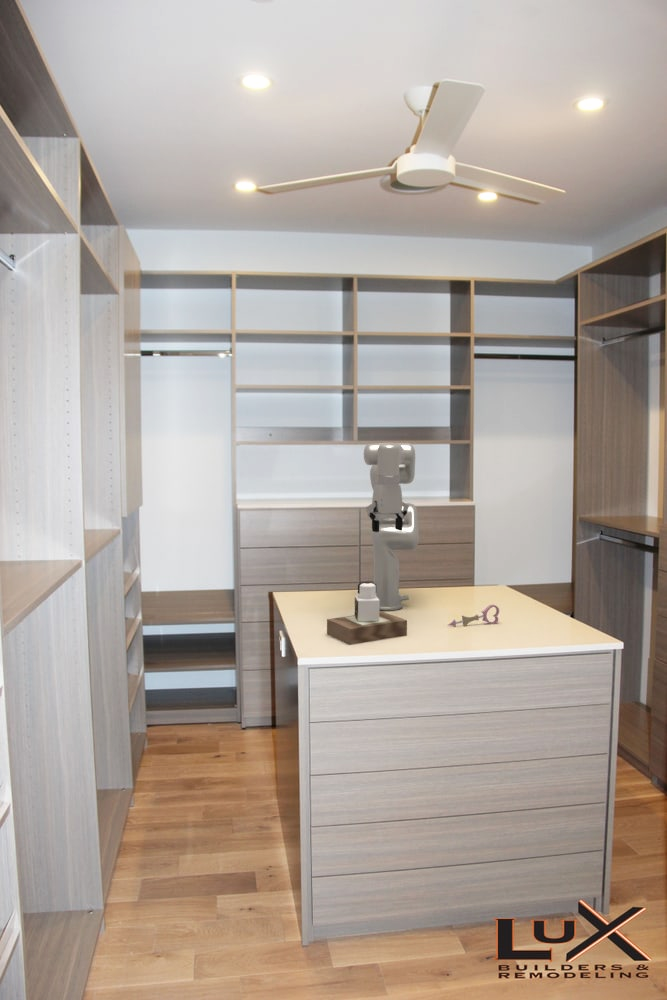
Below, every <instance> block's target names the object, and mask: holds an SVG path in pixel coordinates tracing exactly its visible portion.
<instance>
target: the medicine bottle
mask: <svg viewBox="0 0 667 1000" xmlns="http://www.w3.org/2000/svg"><path fill="white" fill-rule="evenodd" d="M379 612H380V610H379V599H378V598H377V596H376V584H375V583H374V581H373V582H372V581H361V582H359V583H358V585H357V595H355V596H354V615H355V618H356V620H357V621H358V622H375V621H379Z"/></svg>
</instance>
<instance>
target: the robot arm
mask: <svg viewBox="0 0 667 1000" xmlns="http://www.w3.org/2000/svg"><path fill="white" fill-rule="evenodd" d="M363 459H364V462H365V464H366V465H367V466H371V468H369V478H370V479H369V480H370V484H371V487H372V492H373V493H372V499H371V500H372V501H371V503H370V504H369V505H368V506H366V507H365V512H366V513H367V517H369V518H370V520H371V529H372V531H371V540H372V547H373V583H375V584H376V596H377V598H378V599H379V611H384V612H386V611H389V612H390V611H397V610H401V609H403V607H404V606H403V601H409V599H410V597H409V595H408V594H407V595H402V594H399V593H400V592H399V590H400V589H399V588H400V585H399V583H400V561H399V558H398V557H397V555H396V554H395V553H394V552H393V551H396V550H398V551H411V550H412V551H413V550H415V549H416V548H417V547H418V545H419V540H420V539H419V537H420V535H419V514H418V509H417V507H416V505H414V504H413V503H411V502H410V503H409V502H403V494H402V492H403V491H402V487H401V485H407V484H411V483H413V481H414V479H415V471H416V470H415V469H416V450H415V447H414V446H413V444H412V443H410V442H390V441H389V442H379V443H378V442H377V443H367V444H366V445H365V446H364V449H363Z"/></svg>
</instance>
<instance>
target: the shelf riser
mask: <svg viewBox="0 0 667 1000" xmlns="http://www.w3.org/2000/svg"><path fill="white" fill-rule="evenodd" d="M326 635H327V636H330V637H332V638H335V639H336V640H339V641H341V642H343V643H346V644H348V645H356V644H362V643H368V642H375V641H380V640H388V639H393V638H398V637H399V638H400V637H404V636H407V635H408V620H407V619H404V618H402V617H399V616H396V615H394V614H390V613H387V612H386V611H384V610H381V611H379V621H375V622H358V621H357V620H356V618H355V614H354V615H348V616H339V617H334V618H333V617H332V618H327V619H326Z"/></svg>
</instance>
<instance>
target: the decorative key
mask: <svg viewBox="0 0 667 1000" xmlns="http://www.w3.org/2000/svg"><path fill="white" fill-rule="evenodd" d="M491 608H495V610H496V611H495V614H493V615H492V617H494V618H495V619H494V620H493V621H489V619H488V617H487V616H488V612H489V611H490V609H491ZM480 612H481V613H482V615H478V614H475V615H474V616H465V615H461V618H462V619H461V620H458V621H456V619H453V620H452V621H451V622H450V623H448V624H447V625H446V626H453V627H455V628H456V627H457V625H458V624H462V626H464V627H467V626H468V624H469V623H471V622H473V621H479V619H481V618H482V619H481V620H482V621H483V622H486V623H488V624H489V625H496V624H498V622H499V617H498V615H499V614H500V608H499V607H498V606H497V605H495V604H489V605H487V606H486V607H485V609H483V610H481V611H480Z"/></svg>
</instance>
